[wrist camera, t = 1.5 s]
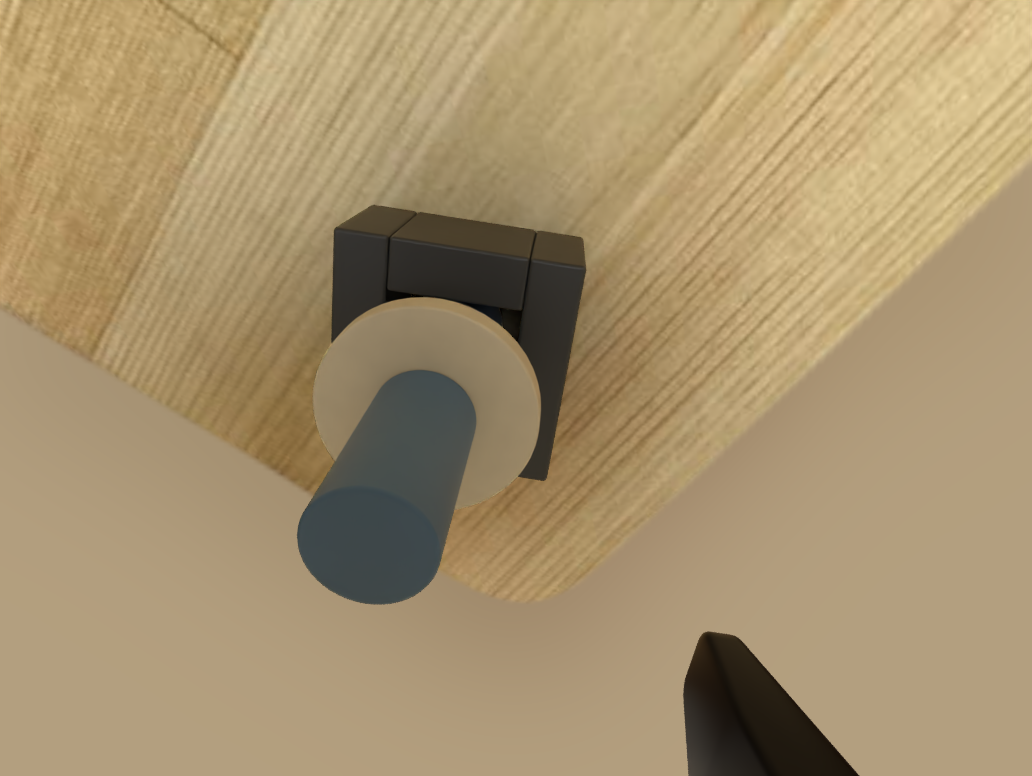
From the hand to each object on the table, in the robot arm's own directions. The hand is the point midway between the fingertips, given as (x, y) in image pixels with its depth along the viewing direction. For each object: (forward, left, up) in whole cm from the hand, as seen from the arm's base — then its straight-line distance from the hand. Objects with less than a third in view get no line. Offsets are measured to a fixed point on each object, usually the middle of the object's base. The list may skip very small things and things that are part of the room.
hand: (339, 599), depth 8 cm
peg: (0, 0, -11) cm, 11 cm away
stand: (0, 0, -10) cm, 11 cm away
